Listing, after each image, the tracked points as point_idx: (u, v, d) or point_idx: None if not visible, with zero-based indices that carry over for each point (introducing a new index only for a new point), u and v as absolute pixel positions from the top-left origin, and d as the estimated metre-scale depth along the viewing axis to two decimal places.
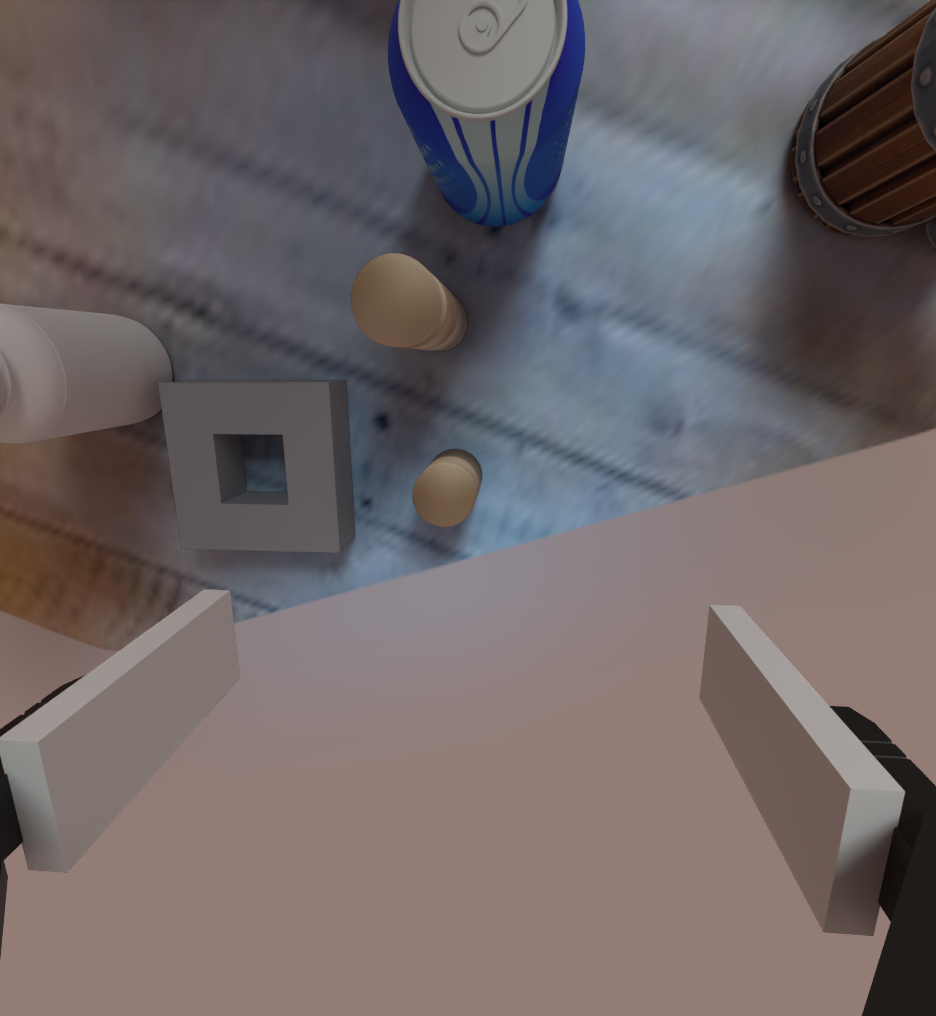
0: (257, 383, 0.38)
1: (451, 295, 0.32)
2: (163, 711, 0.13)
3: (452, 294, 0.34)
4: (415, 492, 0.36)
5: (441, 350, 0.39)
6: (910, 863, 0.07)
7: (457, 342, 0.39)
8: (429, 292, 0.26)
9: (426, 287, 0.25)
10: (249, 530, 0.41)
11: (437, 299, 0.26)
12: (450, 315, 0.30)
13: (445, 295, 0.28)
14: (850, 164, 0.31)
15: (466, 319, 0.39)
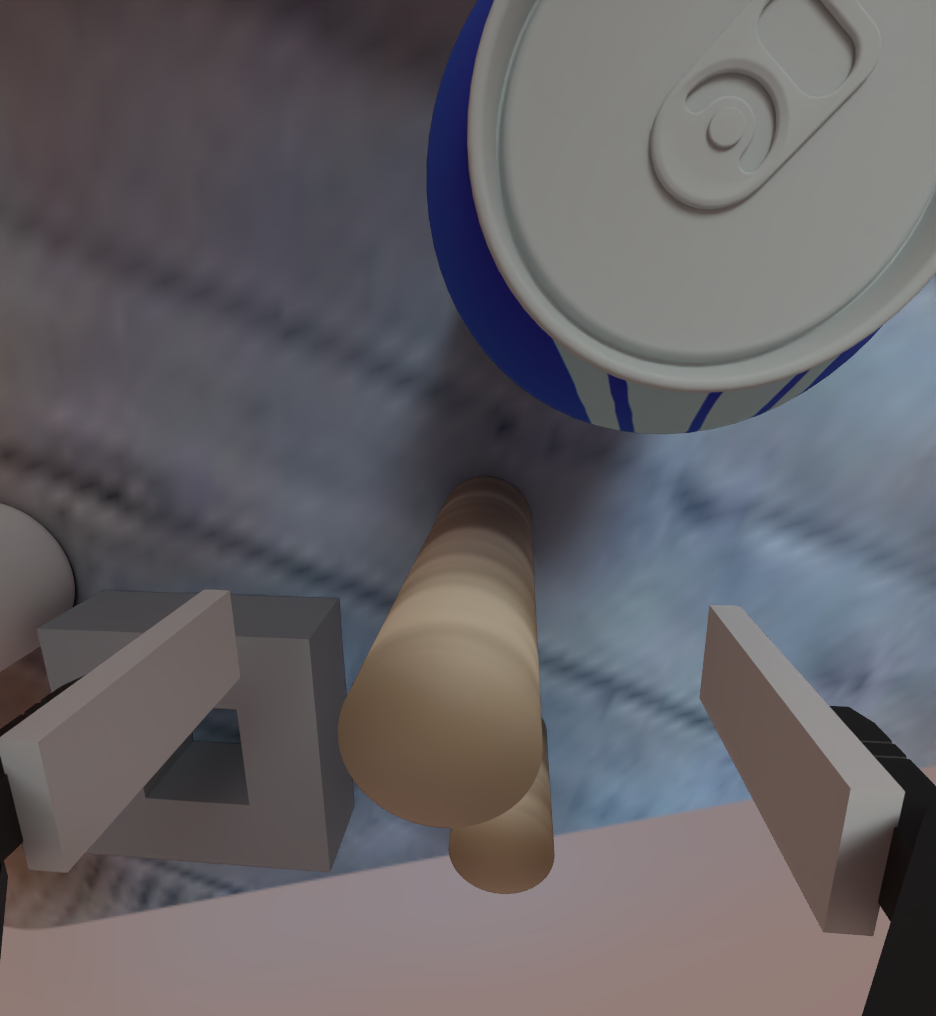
0: None
1: (527, 565, 0.17)
2: (163, 711, 0.13)
3: (522, 538, 0.19)
4: (454, 843, 0.22)
5: None
6: (910, 863, 0.07)
7: None
8: (522, 733, 0.11)
9: (515, 722, 0.11)
10: (189, 835, 0.27)
11: (540, 745, 0.11)
12: None
13: (536, 642, 0.14)
14: None
15: None
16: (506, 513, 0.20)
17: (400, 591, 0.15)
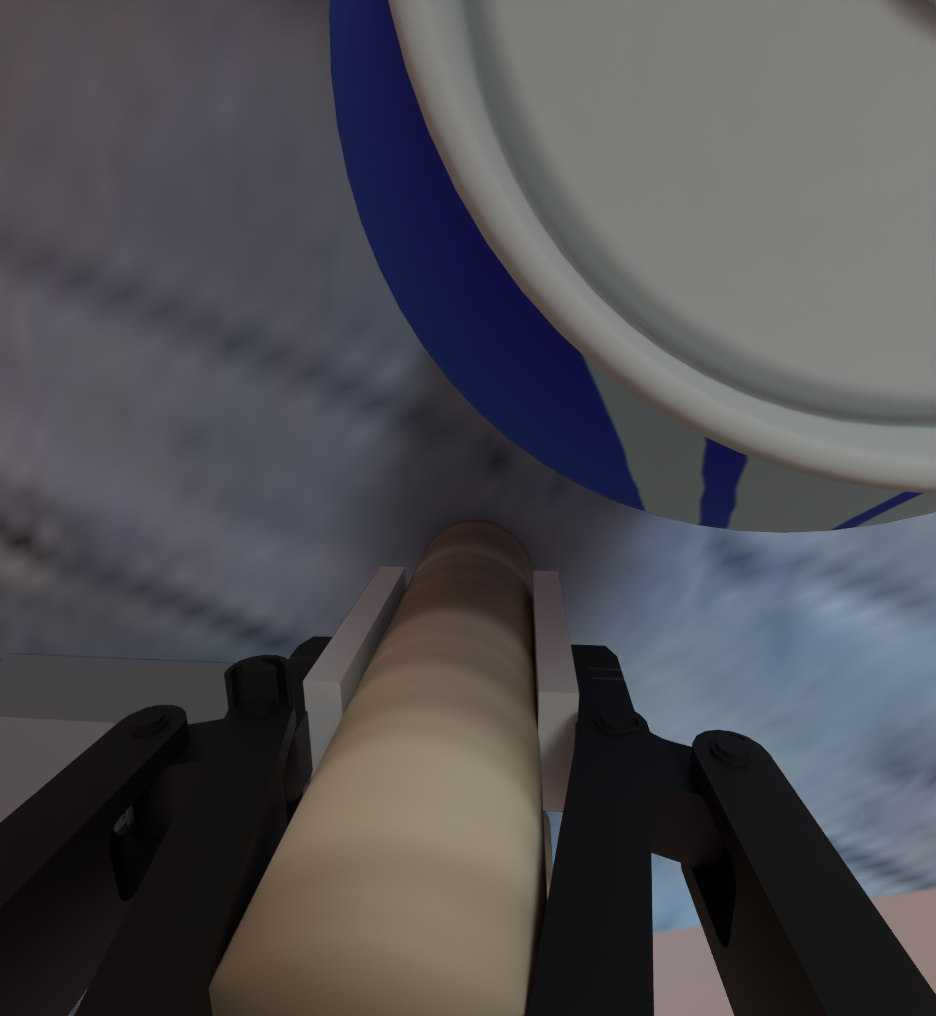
0: (106, 723, 0.19)
1: (527, 663, 0.13)
2: None
3: (521, 617, 0.14)
4: None
5: None
6: (574, 758, 0.09)
7: None
8: None
9: None
10: None
11: None
12: None
13: (541, 820, 0.09)
14: None
15: None
16: (499, 579, 0.15)
17: (342, 720, 0.10)
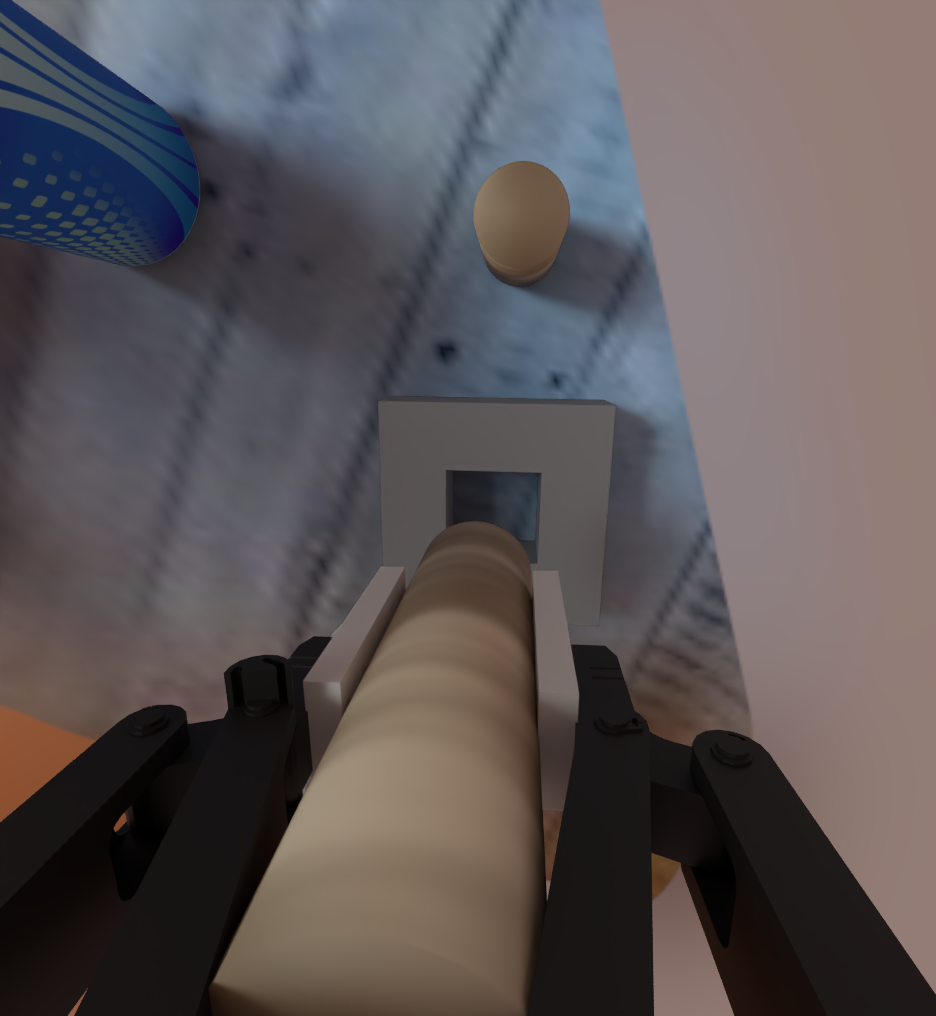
0: (381, 494, 0.30)
1: (527, 663, 0.13)
2: None
3: (520, 618, 0.14)
4: (513, 260, 0.24)
5: None
6: (574, 758, 0.09)
7: None
8: None
9: None
10: (576, 532, 0.30)
11: None
12: None
13: (540, 821, 0.09)
14: None
15: None
16: (499, 580, 0.15)
17: (341, 721, 0.10)
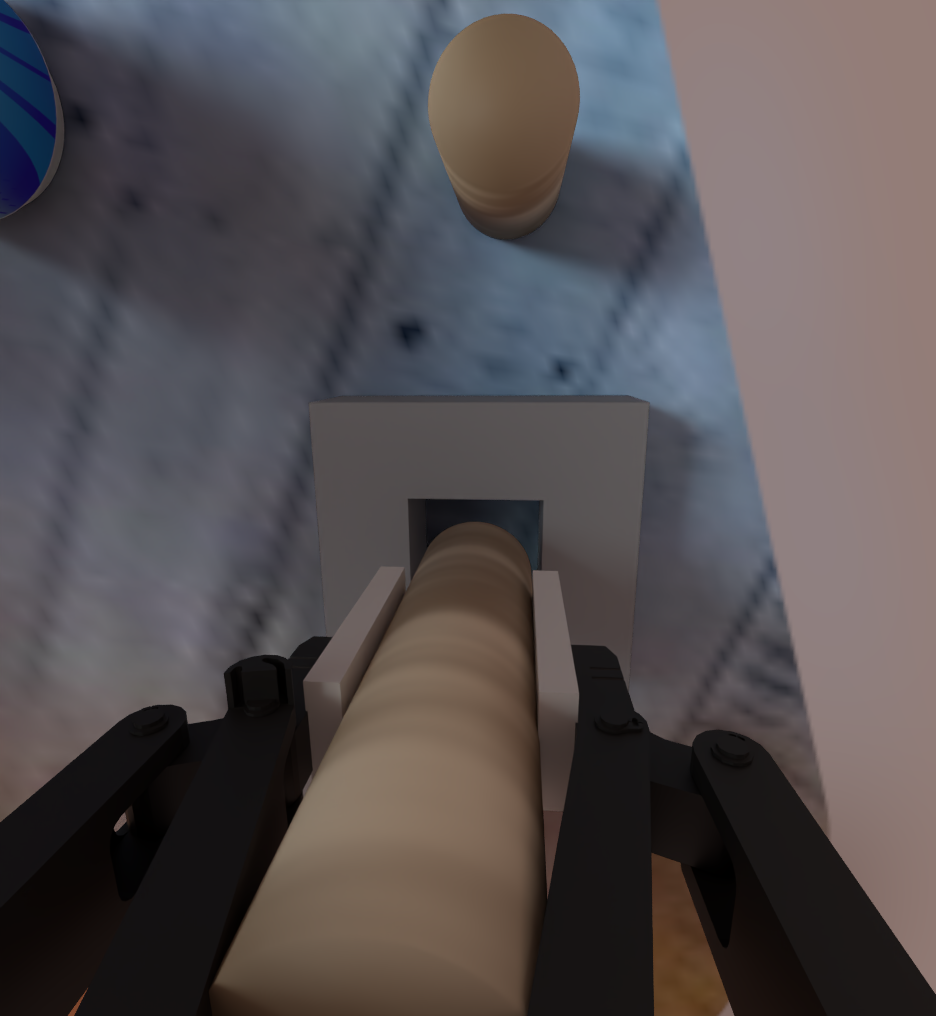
0: (320, 533, 0.22)
1: (527, 664, 0.13)
2: None
3: (521, 618, 0.14)
4: (492, 178, 0.16)
5: None
6: (573, 758, 0.09)
7: None
8: None
9: None
10: (594, 582, 0.21)
11: None
12: None
13: (541, 822, 0.09)
14: None
15: None
16: (499, 580, 0.15)
17: (341, 722, 0.10)
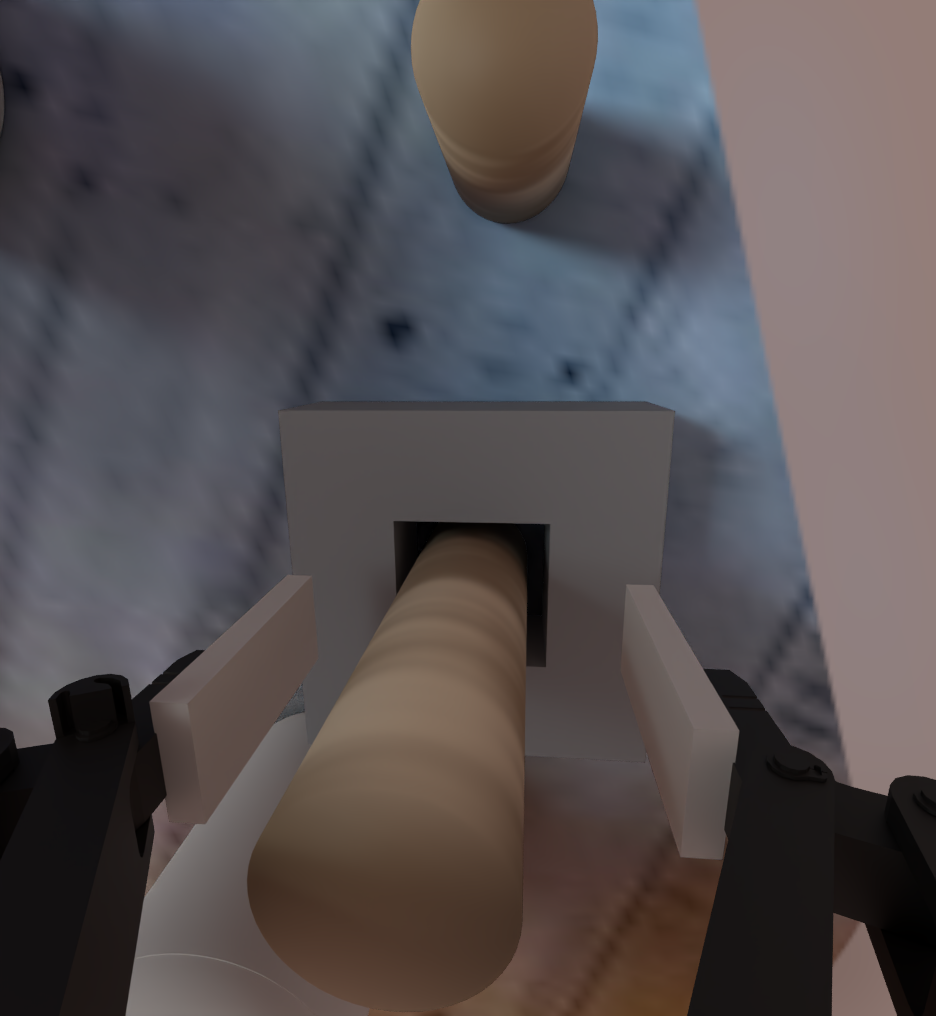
0: (293, 560, 0.19)
1: (517, 624, 0.15)
2: (267, 684, 0.14)
3: (513, 588, 0.16)
4: (490, 139, 0.13)
5: None
6: (740, 797, 0.08)
7: None
8: (494, 898, 0.08)
9: (484, 883, 0.08)
10: (608, 618, 0.18)
11: (519, 913, 0.08)
12: None
13: (521, 740, 0.11)
14: None
15: None
16: (495, 556, 0.17)
17: (357, 664, 0.12)
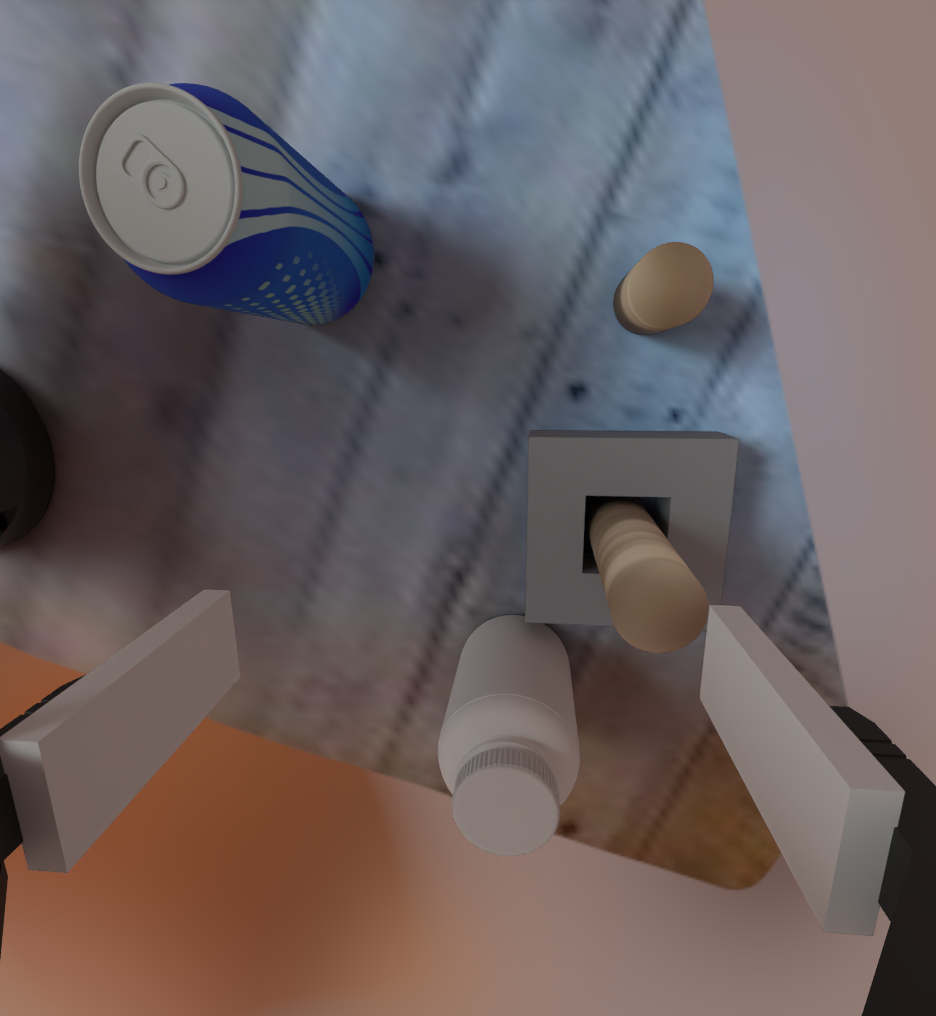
0: (528, 517, 0.35)
1: None
2: (163, 711, 0.13)
3: (658, 527, 0.32)
4: (663, 322, 0.29)
5: None
6: (911, 863, 0.07)
7: None
8: (699, 604, 0.24)
9: (697, 599, 0.24)
10: (700, 548, 0.34)
11: (707, 610, 0.24)
12: None
13: None
14: None
15: None
16: (644, 513, 0.34)
17: (608, 550, 0.29)
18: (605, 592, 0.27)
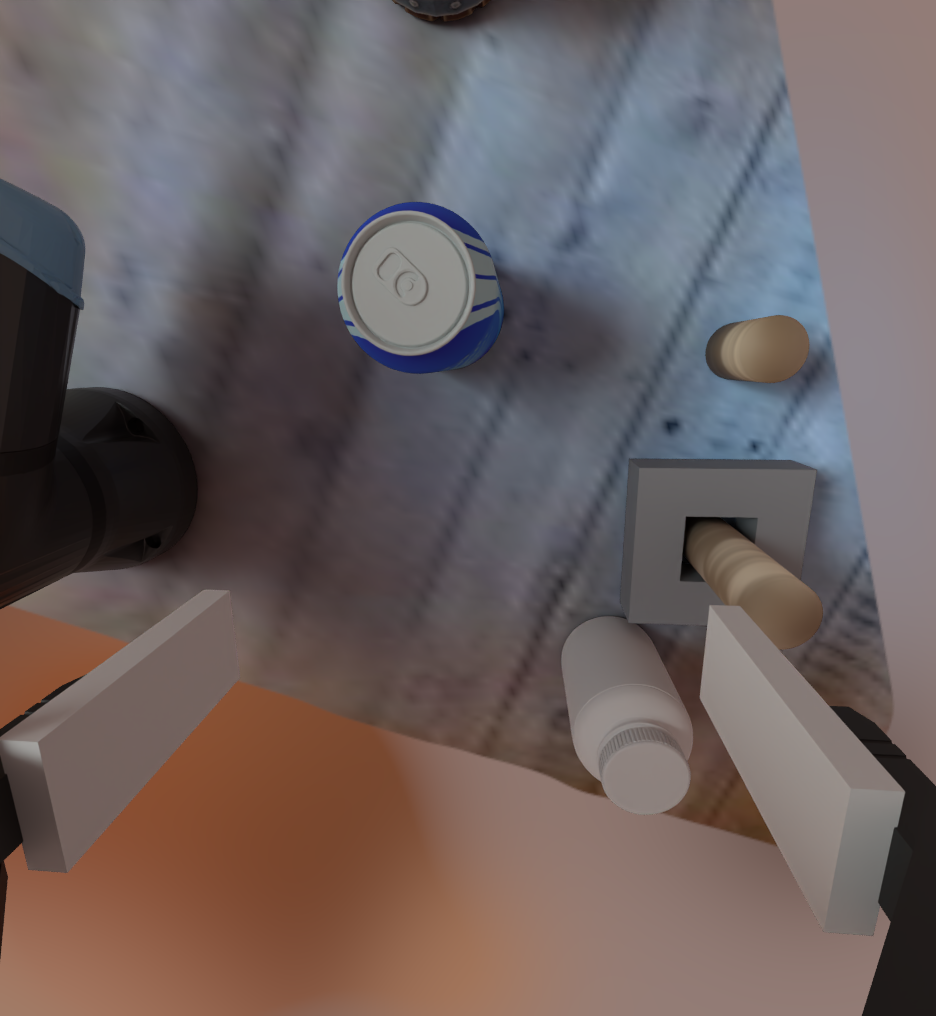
0: (635, 534, 0.42)
1: None
2: (163, 711, 0.13)
3: None
4: (766, 379, 0.35)
5: None
6: (911, 864, 0.07)
7: None
8: (815, 611, 0.31)
9: (813, 607, 0.31)
10: (781, 559, 0.41)
11: (821, 616, 0.31)
12: None
13: None
14: None
15: None
16: (737, 531, 0.40)
17: (724, 566, 0.35)
18: (729, 601, 0.33)
